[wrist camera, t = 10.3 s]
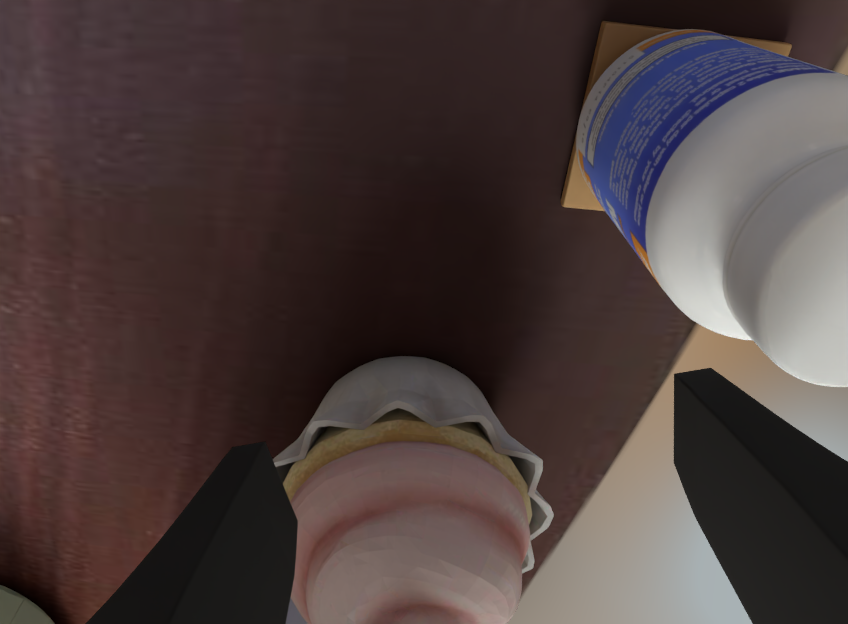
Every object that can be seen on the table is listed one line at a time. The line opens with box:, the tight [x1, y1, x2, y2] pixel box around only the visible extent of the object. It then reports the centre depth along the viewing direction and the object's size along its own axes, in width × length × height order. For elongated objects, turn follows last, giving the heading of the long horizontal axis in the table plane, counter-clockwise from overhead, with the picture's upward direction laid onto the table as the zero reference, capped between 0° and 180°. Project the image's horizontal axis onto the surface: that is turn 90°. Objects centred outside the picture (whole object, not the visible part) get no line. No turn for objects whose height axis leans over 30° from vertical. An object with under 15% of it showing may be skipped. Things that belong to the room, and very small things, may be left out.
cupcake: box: [273, 356, 554, 624], centre depth 20 cm, size 9×9×10 cm
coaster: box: [561, 21, 792, 211], centre depth 19 cm, size 5×5×1 cm
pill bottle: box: [576, 29, 848, 387], centre depth 15 cm, size 5×5×10 cm
